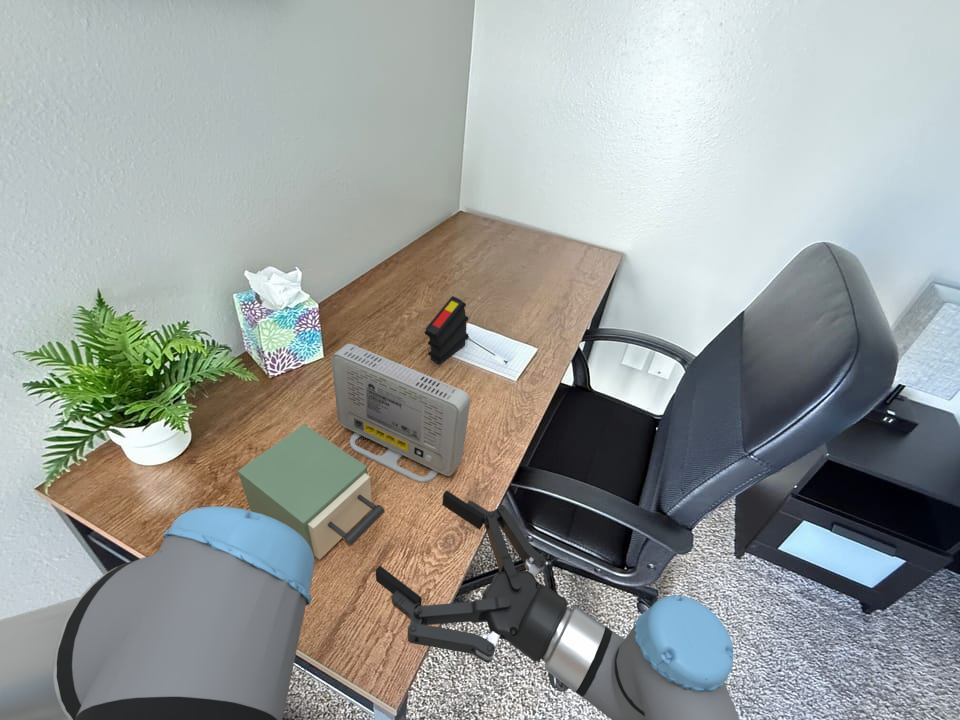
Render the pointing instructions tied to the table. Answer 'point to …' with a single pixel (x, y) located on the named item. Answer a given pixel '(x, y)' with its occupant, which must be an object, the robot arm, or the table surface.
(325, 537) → the drawer
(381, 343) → the table surface
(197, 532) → the robot arm
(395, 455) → the network device
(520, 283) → the table surface
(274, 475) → the cabinet
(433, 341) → the black electronic module
